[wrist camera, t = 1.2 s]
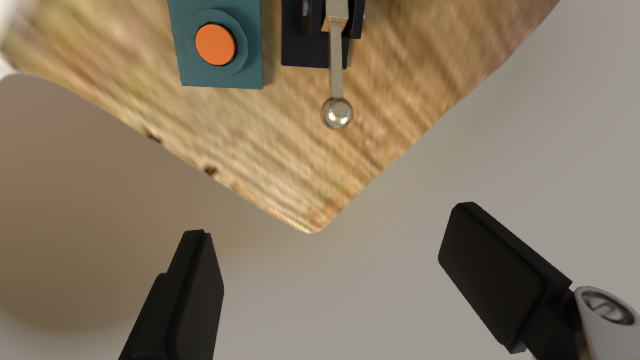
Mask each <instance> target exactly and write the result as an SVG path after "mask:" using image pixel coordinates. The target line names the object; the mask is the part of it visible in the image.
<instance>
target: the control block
mask: <svg viewBox="0 0 640 360" xmlns="http://www.w3.org/2000/svg"><path fill="white" fill-rule="evenodd" d="M167 1H168V7H169V13H170V19H171V25H172V31H173V37H174V43H175V49H176V54H177V60H178V66H179V72H180V78H181V84H182V86H200V87H223V88H245V89H263V74H262V37H261V2H260V0H167ZM209 24H213V25H219V26H221V27H223V28H225V29H226V30H228V31H229V33H230V34H231V35H232V37H233V39H234V42H235V53H234V56H233V57H232V59H231V60H230V61H228V62H227V63H225V64H223V65H214V64H211V63H209V62H207V61H205V60H204V59H203V58H202V57H201V55H200V54H199V52H198V50H197V48H196V35H197V33H198V31H199V30H200V29H201V28H202V27H203V26H205V25H209Z"/></svg>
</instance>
